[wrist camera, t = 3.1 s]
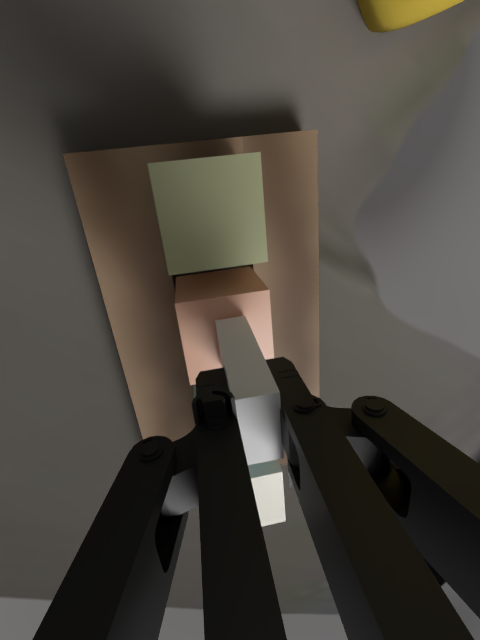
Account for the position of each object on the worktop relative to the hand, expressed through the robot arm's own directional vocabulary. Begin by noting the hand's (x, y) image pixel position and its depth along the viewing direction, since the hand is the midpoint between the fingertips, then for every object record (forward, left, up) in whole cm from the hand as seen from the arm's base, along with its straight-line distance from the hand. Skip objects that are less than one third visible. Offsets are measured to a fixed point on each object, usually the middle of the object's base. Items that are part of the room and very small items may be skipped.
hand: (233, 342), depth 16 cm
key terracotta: (0, 0, -5) cm, 5 cm away
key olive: (0, +6, -5) cm, 8 cm away
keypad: (0, -3, -8) cm, 9 cm away
